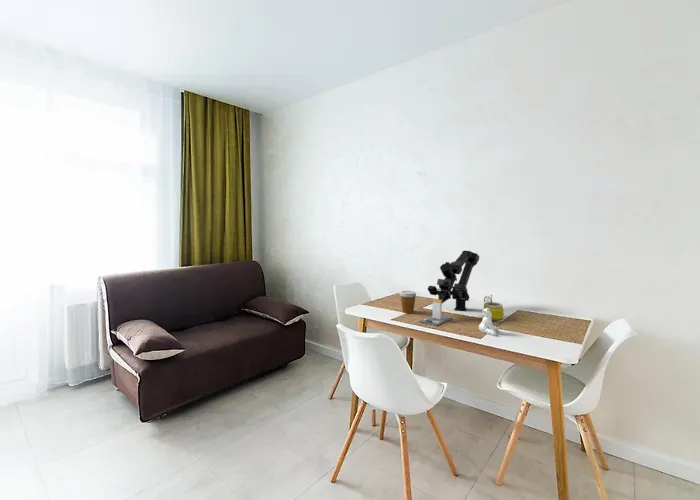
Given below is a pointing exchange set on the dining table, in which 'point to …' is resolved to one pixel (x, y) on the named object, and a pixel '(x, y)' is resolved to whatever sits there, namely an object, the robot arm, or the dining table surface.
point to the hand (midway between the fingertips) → (439, 304)
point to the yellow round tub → (494, 309)
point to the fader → (437, 308)
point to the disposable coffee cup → (408, 301)
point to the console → (435, 320)
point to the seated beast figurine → (488, 323)
